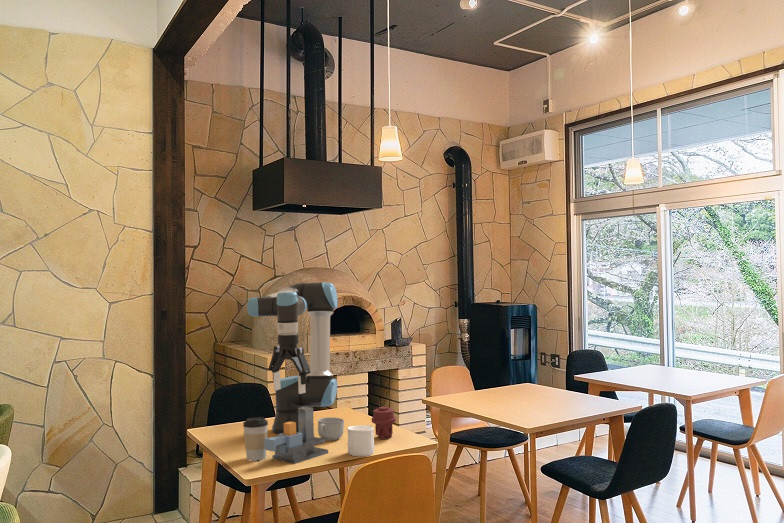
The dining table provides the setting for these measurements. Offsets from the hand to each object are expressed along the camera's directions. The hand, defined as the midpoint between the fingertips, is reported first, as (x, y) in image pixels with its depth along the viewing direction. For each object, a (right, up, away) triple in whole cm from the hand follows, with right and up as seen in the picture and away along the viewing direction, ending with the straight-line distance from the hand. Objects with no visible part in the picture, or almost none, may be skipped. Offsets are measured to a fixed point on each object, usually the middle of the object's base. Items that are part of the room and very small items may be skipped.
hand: (289, 391), depth 236 cm
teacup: (+12, -25, +26) cm, 38 cm away
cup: (+26, -24, +4) cm, 36 cm away
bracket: (-2, -22, -4) cm, 22 cm away
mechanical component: (+35, -25, +27) cm, 50 cm away
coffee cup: (-12, -25, +1) cm, 28 cm away
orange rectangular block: (+1, -23, -1) cm, 23 cm away
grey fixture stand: (+4, -25, +3) cm, 25 cm away
